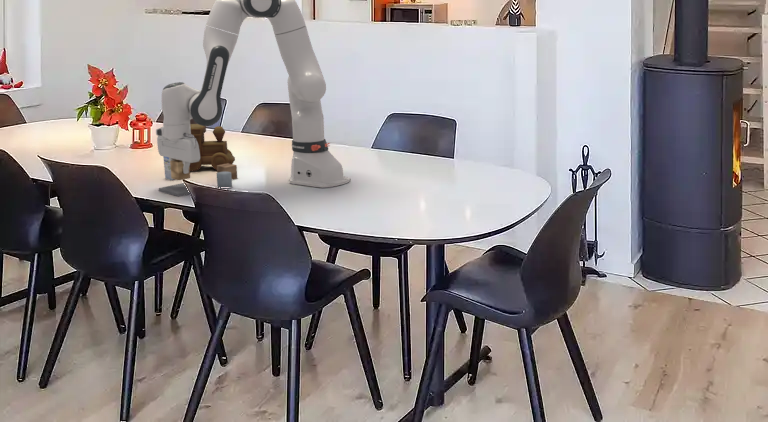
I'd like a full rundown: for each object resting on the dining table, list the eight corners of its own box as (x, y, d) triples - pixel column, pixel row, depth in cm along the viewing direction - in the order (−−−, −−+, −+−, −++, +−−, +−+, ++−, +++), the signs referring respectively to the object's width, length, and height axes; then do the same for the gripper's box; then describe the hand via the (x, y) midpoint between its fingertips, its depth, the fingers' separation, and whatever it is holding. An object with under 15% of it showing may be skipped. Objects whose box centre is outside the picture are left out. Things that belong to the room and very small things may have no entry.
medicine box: (182, 174, 321) (180, 151, 319) (190, 176, 319) (188, 153, 316) (164, 178, 315) (162, 155, 313) (172, 180, 313) (170, 156, 310)
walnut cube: (237, 178, 314) (236, 165, 312) (226, 181, 310) (225, 167, 309) (229, 176, 317) (228, 163, 316) (217, 179, 314) (216, 165, 312)
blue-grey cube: (235, 187, 301) (234, 172, 300) (223, 189, 298) (222, 175, 296) (226, 184, 304) (225, 170, 303) (214, 187, 301) (213, 173, 300)
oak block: (190, 178, 296) (189, 160, 294) (178, 180, 293) (177, 162, 291) (182, 176, 299) (181, 159, 297) (171, 178, 296) (170, 161, 294)
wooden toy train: (178, 172, 325) (174, 128, 321) (184, 166, 336) (180, 123, 332) (231, 171, 326) (228, 127, 321) (236, 164, 337) (233, 122, 332)
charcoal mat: (206, 190, 297) (206, 187, 297) (178, 196, 289) (178, 193, 289) (186, 185, 305) (185, 182, 305) (158, 191, 297) (158, 188, 297)
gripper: (203, 133, 287) (206, 174, 290) (168, 127, 301) (171, 166, 304) (187, 136, 282) (190, 178, 286) (152, 129, 296) (156, 169, 300)
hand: (180, 172), depth 295 cm, fingers closed on oak block, 4 cm apart
